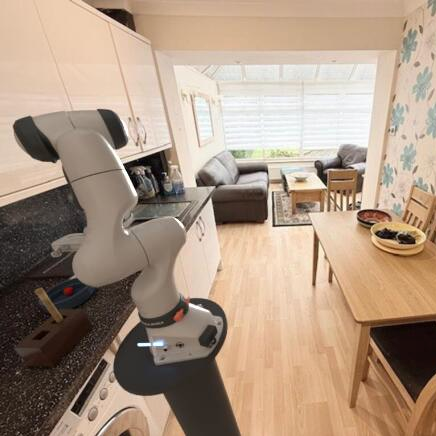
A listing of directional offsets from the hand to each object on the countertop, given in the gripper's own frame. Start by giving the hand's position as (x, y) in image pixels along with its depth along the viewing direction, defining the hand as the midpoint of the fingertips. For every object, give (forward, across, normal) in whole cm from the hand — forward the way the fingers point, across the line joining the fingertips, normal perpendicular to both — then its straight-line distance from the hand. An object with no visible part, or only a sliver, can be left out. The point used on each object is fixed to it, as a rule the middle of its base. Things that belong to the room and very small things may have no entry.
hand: (68, 254), depth 77 cm
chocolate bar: (-26, -22, +24) cm, 42 cm away
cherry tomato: (-7, -17, +21) cm, 28 cm away
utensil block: (+15, 0, +24) cm, 28 cm away
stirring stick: (+12, 0, +24) cm, 27 cm away
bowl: (-5, -15, +24) cm, 28 cm away
